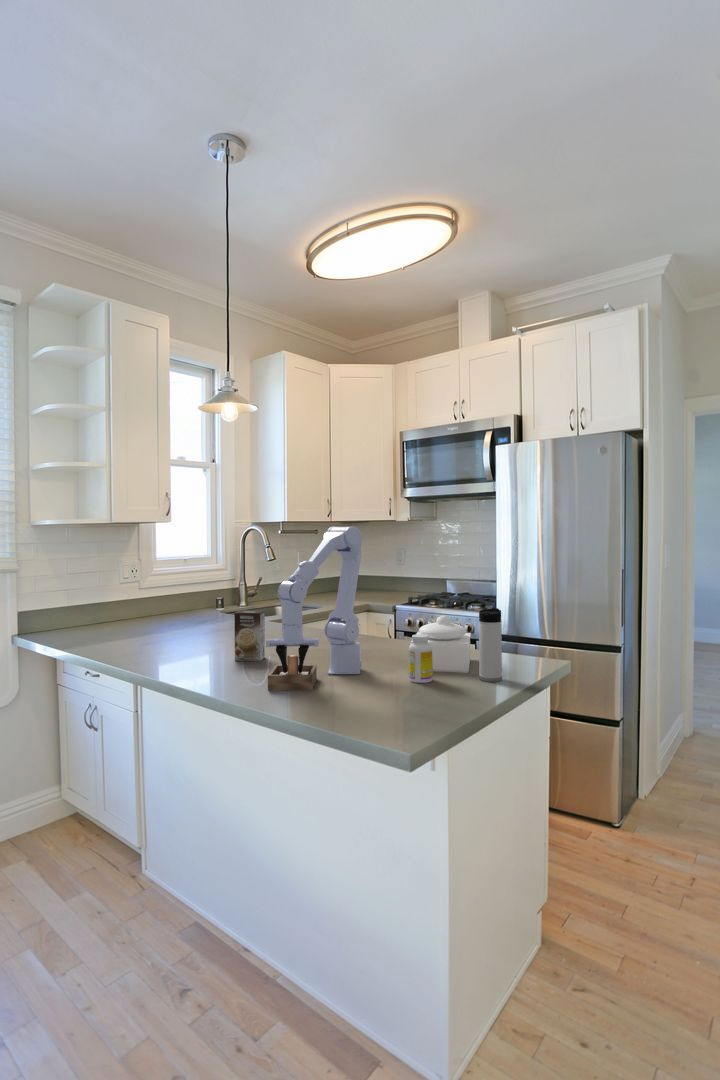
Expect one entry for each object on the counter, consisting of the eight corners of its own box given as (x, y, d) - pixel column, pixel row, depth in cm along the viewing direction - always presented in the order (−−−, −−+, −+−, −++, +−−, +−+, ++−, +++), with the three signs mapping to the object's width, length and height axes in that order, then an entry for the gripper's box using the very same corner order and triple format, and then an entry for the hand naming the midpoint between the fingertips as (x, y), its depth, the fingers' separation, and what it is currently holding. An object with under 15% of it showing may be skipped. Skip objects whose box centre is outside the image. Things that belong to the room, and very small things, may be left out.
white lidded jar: (410, 670, 176) (409, 618, 176) (417, 657, 194) (417, 610, 194) (468, 673, 172) (468, 620, 172) (470, 659, 190) (470, 611, 190)
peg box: (316, 678, 168) (316, 664, 168) (312, 690, 156) (312, 675, 156) (275, 678, 168) (275, 665, 168) (267, 690, 156) (267, 675, 156)
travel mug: (506, 678, 165) (506, 608, 164) (494, 683, 160) (494, 611, 160) (487, 675, 169) (486, 607, 169) (475, 679, 164) (474, 609, 164)
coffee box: (233, 661, 192) (232, 612, 191) (239, 656, 198) (238, 610, 198) (260, 661, 191) (260, 612, 190) (265, 657, 197) (265, 610, 197)
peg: (299, 683, 163) (298, 654, 163) (297, 685, 160) (297, 657, 160) (288, 683, 163) (288, 654, 163) (286, 686, 160) (286, 657, 160)
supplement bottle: (435, 679, 166) (435, 634, 165) (428, 684, 160) (428, 638, 159) (413, 676, 168) (413, 632, 168) (405, 682, 162) (405, 636, 162)
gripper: (263, 626, 158) (264, 675, 158) (316, 625, 157) (317, 675, 158) (268, 622, 165) (269, 669, 165) (319, 621, 164) (319, 669, 165)
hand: (292, 672), depth 162 cm, fingers open, 4 cm apart
